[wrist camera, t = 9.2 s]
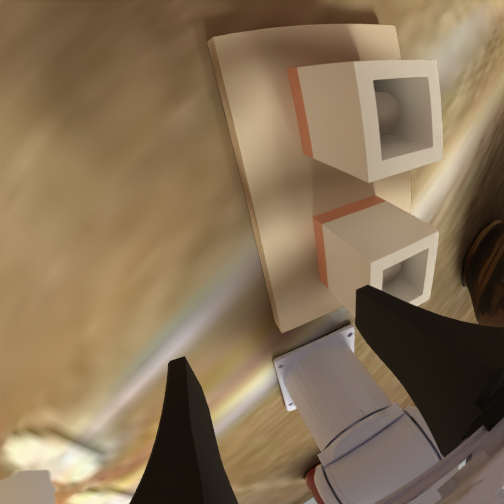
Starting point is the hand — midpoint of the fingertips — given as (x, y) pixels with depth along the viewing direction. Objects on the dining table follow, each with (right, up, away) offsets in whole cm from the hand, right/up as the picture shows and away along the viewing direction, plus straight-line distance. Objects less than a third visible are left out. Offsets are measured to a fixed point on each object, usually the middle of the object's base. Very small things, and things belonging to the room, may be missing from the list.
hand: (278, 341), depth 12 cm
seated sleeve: (+5, +4, +9) cm, 12 cm away
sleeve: (+4, +12, +4) cm, 13 cm away
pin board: (+4, +8, +8) cm, 12 cm away
